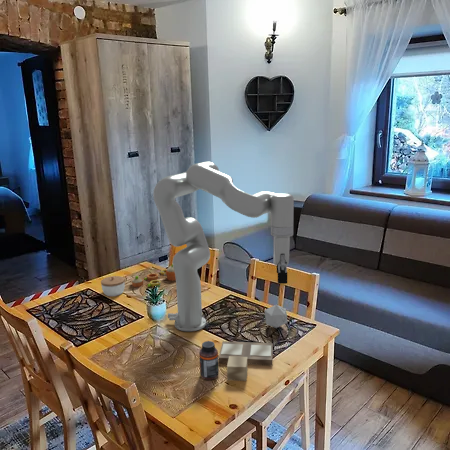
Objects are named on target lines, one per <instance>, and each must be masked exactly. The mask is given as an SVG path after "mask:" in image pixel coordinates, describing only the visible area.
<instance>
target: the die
mask: <svg viewBox="0 0 450 450" xmlns="http://www.w3.org/2000/svg"><path fill="white" fill-rule="evenodd" d="M264 317H265V319H264V320H265V324H266V325H267V326H270V327H272V328H275V329H277V328H280V327H282V326H283V325H286V324H288V315H287V308H285V307H282V306H280V305H279V304H274V305H273V306H271V307H268V308H266V309H264Z"/></svg>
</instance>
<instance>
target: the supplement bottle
mask: <svg viewBox="0 0 450 450" xmlns="http://www.w3.org/2000/svg"><path fill="white" fill-rule="evenodd" d="M215 346H216V345H215V342H214V341H211V340H207V341H204V342H202V344H201V348H200V349H199V352H198V353H199V373H200V377H201V379H203V380H206V381H211V380H215V379H216V378H217V377H219V374H220V373H219V370H220V369H219V351H218V349H217V347H215Z"/></svg>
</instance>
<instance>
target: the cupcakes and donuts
mask: <svg viewBox="0 0 450 450" xmlns="http://www.w3.org/2000/svg"><path fill="white" fill-rule="evenodd" d="M159 273H160V275H161V276H164V277H166V279H167V280H168V281H171V282H172V281H175V282H176V277H175V272H174V268H173V263H171V265H170V266H168V267H167V269H161V270H160V271H159ZM161 276H159V274H158V273H149V274H147V275H146V277H144V278H142V277H139V276H138V275H136V276H135V277H134V278H132V279H131V284H132V287H134V288H140V287H142V286H143V285H144V281H149V283H148V284H147V287H148V288H150V287H151V288H155V287H154V286H158V287H157V288H159V287H160V286H161V285H162V283H161V280H159V279H160V278H161Z"/></svg>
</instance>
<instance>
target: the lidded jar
mask: <svg viewBox="0 0 450 450" xmlns="http://www.w3.org/2000/svg"><path fill="white" fill-rule="evenodd" d="M125 280H126V279H125V277H123V276H121V275H120V276H119V275H112V276H108V277H107V276H106V277H105V278H102V279H101V281H100V284H101V289H102V292H103V294H104V295H105V296H107V297H117V296H120V295H122V294H123V292H124V290H125V287H126V286H125V285H126V284H125Z"/></svg>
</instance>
